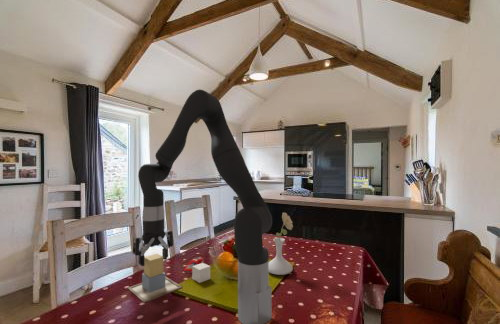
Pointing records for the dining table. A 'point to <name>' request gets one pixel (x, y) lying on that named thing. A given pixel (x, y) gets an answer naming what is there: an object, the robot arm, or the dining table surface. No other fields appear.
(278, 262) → the flower in vase
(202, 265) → the cream brick
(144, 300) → the build plate
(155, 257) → the ochre brick
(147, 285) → the base brick
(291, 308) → the dining table surface
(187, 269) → the race car
